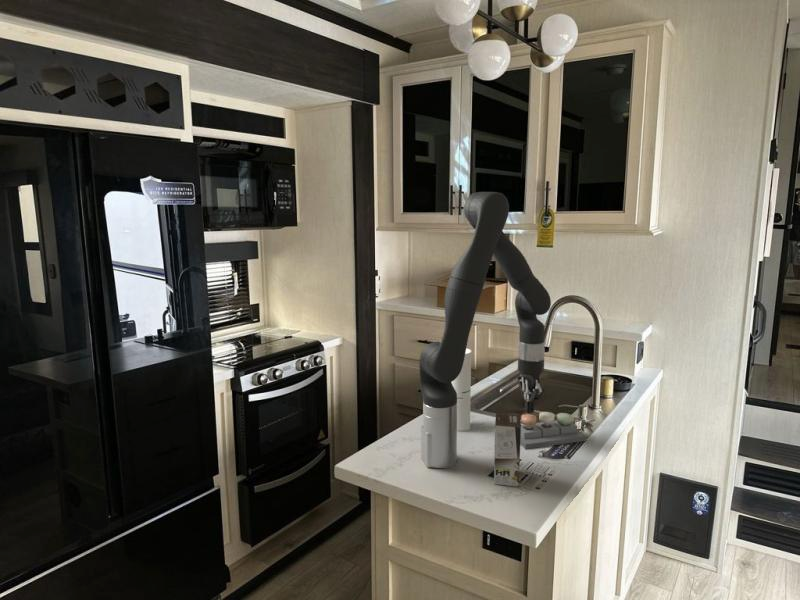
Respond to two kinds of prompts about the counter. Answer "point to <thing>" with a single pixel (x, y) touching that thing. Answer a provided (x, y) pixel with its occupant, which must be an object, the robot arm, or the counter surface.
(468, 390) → the cylindrical container
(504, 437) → the coffee box
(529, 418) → the terracotta button
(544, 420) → the cream button
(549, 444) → the console
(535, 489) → the counter surface
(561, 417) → the sage button
